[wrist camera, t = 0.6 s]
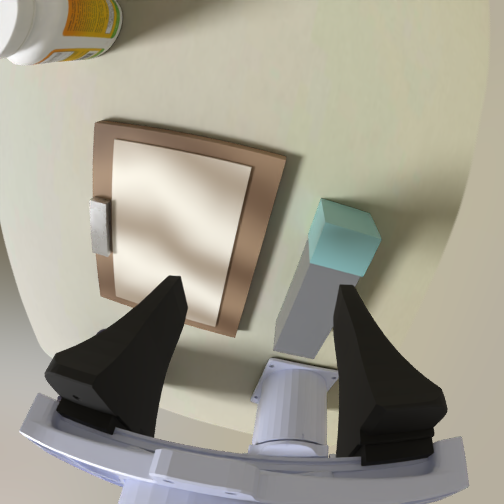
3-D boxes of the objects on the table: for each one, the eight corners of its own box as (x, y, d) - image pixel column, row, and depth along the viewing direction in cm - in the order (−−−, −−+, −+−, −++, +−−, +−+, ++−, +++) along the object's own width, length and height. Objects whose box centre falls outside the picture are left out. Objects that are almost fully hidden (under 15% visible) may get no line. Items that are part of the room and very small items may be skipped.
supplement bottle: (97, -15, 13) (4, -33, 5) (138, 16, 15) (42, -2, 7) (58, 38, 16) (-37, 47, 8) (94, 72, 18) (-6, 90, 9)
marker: (309, 337, 28) (309, 368, 25) (271, 328, 28) (267, 360, 25) (369, 213, 21) (381, 239, 18) (320, 197, 21) (325, 222, 18)
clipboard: (236, 330, 29) (233, 344, 27) (105, 290, 29) (96, 301, 27) (286, 156, 20) (285, 163, 18) (102, 120, 20) (88, 125, 18)
